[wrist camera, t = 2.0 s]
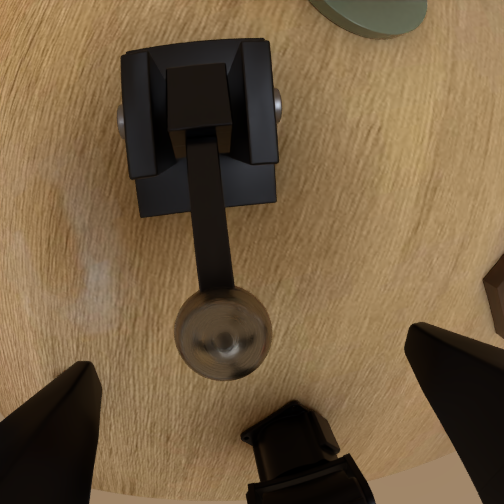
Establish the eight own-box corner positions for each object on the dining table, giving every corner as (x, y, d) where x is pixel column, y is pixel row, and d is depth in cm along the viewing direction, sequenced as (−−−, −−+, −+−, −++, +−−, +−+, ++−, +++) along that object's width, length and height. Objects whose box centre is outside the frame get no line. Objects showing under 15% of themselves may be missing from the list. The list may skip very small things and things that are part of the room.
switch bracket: (272, 199, 20) (323, 239, 11) (143, 214, 19) (102, 265, 10) (261, 43, 16) (303, -22, 8) (129, 56, 15) (82, -1, 7)
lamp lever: (269, 361, 12) (286, 385, 9) (186, 372, 11) (177, 399, 8) (234, 99, 13) (240, 54, 10) (162, 107, 13) (150, 63, 9)
